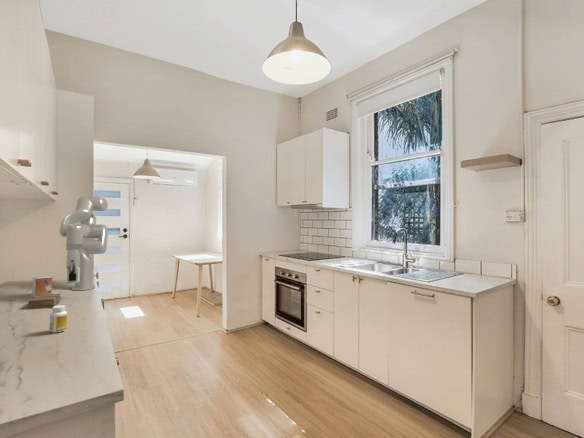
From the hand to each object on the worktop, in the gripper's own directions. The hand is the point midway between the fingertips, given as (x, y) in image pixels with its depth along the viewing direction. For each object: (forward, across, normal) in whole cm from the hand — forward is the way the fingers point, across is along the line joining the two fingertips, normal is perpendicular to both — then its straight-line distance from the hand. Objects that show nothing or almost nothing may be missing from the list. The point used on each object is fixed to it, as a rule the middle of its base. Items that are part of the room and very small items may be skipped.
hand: (73, 279), depth 176 cm
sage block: (+2, 0, 0) cm, 2 cm away
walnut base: (+10, +11, -10) cm, 18 cm away
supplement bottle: (+9, +60, +5) cm, 61 cm away
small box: (+12, -14, -17) cm, 25 cm away
